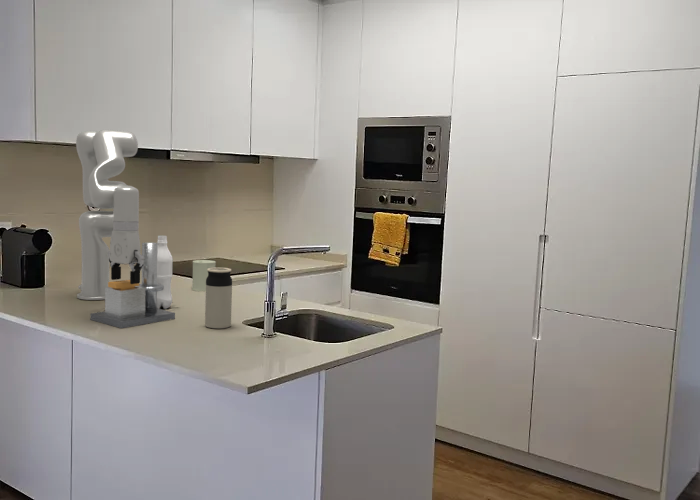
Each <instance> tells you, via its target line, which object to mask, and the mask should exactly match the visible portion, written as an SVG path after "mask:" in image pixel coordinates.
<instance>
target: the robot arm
mask: <svg viewBox="0 0 700 500" xmlns="http://www.w3.org/2000/svg"><path fill="white" fill-rule="evenodd" d="M75 140H76V141H75V146H76V152H77V155H78V158H79V160H80V163H81V167H82V198H83V203H84V204H85V205H86V206H88V207H95V208H96V209H101V210H89V211H84V212H82V213H81V214H80V216H79V218H78V226H79V227H78V228H79V235H80V240H81V241H80V243H81V245H80V247H81V284H80V285H78V289H79V290H80V292H79V293H77V294H76V298H77V299H79V300H85V301H103V300H104V301H105V288H106V287H108V282H110V279H111V280H112V281H118V280H121V279H122V266H121V265H125V266H126V265H129V267H130V270H131V271H129V280H130V284H137V283H139V284H141V272H142V266H143V263H144V260H145V258H144V257H143V256H142V253H141V241H140V234H139V229H140V227H139V226H140V223H139V222H140V221H139V220H140V217H139V216H140V210H139V209H140V191H139V189H138V188H137V187H134V186H133V185H127V184H126V183H125V182H124V181H120V180H119V181H116V180H109V179H111V178H114V177H116V176H119V175H120V174H121V173H122V172H124V170H125V167H126V162H125V161H126V160H125V159H124V158H130V157H134V156H136V154H137V153H138V150H139V149H138V148H139V146H138V145H139V143H138V139H137V137H136V135H135V134H134V133H133V132H131V131H128V130H127V131H126V130H113V129H102V130H99V131H98V130H86V131H81V132H79V133H78V134H77V136H76V139H75ZM102 209H103V210H102ZM104 209H105V210H104ZM104 238H110V242H109V246H108V244H107V243H106V241H104V240H103V239H104ZM110 268H111V269H110ZM110 272H111V273H110Z"/></svg>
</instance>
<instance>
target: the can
mask: <svg viewBox="0 0 700 500" xmlns="http://www.w3.org/2000/svg"><path fill="white" fill-rule="evenodd" d="M216 263H217V261H215V260H209V259H196V260H195V259H194V260H192V286H191V290H192V291H193V290H194V291H195V292H199V291H206V279H207V277H208V271H207V269H208V268H216V265H217V264H216Z"/></svg>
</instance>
